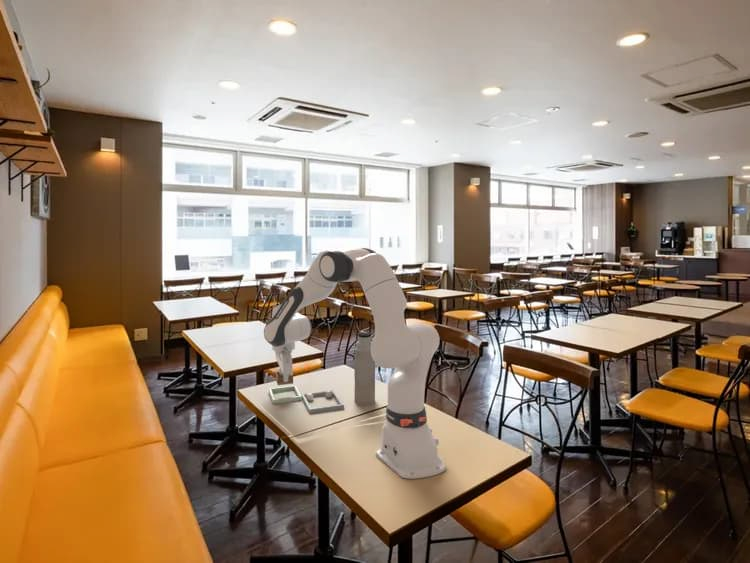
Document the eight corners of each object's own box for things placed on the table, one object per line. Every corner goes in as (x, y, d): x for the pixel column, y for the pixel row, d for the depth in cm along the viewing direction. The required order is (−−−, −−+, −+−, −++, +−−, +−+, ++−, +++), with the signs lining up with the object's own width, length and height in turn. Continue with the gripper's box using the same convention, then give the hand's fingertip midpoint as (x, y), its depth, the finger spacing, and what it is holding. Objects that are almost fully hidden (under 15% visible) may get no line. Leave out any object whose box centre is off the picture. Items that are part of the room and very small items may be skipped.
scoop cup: (293, 383, 175) (293, 375, 175) (277, 385, 173) (277, 376, 173) (290, 378, 181) (290, 370, 180) (275, 380, 179) (275, 372, 178)
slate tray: (344, 411, 166) (344, 404, 165) (309, 416, 161) (309, 409, 161) (333, 395, 180) (333, 390, 180) (301, 400, 176) (301, 394, 176)
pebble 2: (333, 399, 176) (333, 391, 175) (326, 400, 175) (326, 392, 174) (331, 396, 178) (331, 389, 178) (324, 397, 177) (324, 390, 177)
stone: (289, 381, 177) (289, 370, 176) (282, 382, 175) (282, 371, 174) (286, 378, 179) (286, 368, 179) (279, 380, 177) (278, 369, 177)
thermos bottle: (375, 400, 176) (375, 331, 173) (374, 408, 168) (374, 336, 165) (355, 399, 177) (355, 331, 173) (353, 407, 169) (353, 336, 165)
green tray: (301, 402, 174) (301, 396, 173) (272, 406, 170) (272, 400, 170) (295, 391, 186) (295, 385, 185) (269, 394, 182) (268, 388, 182)
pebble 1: (314, 401, 173) (314, 394, 172) (306, 402, 172) (306, 395, 171) (312, 399, 176) (312, 391, 175) (305, 400, 175) (305, 392, 174)
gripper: (296, 350, 166) (296, 386, 168) (287, 338, 186) (288, 369, 187) (279, 352, 164) (280, 388, 166) (272, 339, 183) (273, 371, 185)
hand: (284, 378), depth 177 cm, fingers closed on scoop cup, 6 cm apart
